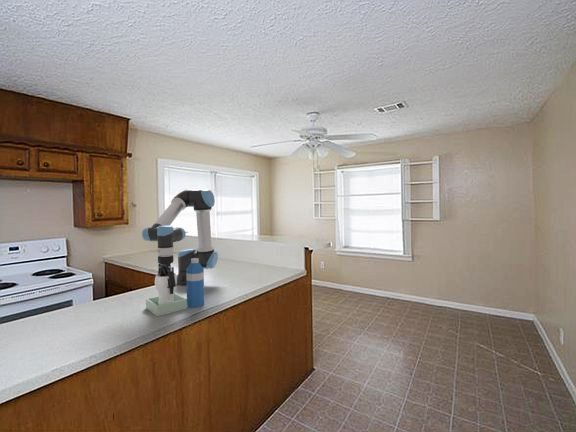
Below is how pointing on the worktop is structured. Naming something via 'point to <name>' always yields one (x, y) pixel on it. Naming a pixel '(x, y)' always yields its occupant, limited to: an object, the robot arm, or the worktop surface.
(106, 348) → the worktop surface
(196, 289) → the water bottle
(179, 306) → the dish rack
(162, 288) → the cup
